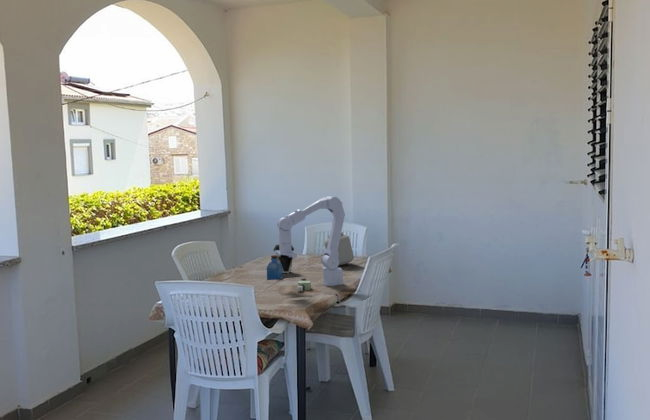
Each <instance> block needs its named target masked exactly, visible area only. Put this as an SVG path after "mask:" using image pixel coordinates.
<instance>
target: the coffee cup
mask: <svg viewBox="0 0 650 420" xmlns="http://www.w3.org/2000/svg"><path fill="white" fill-rule="evenodd" d="M272 250H273V252H274V253H275V251H276V250H279V244H276V245H275V246H274V248H273V249H272ZM291 250H292V252H293V253H294V250H295V248H294V247H293V245H292V244H291ZM280 256H281V255H277V259H278V260H277V262H280V260H279V258H278V257H280ZM280 264H281V262H280ZM281 265H282V264H281ZM292 267H293V260H292V261H291V263H290V267H289V271H286V272H284V271H283V267H282V273H287V274H290V273H289V272H292Z"/></svg>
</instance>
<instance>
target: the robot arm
mask: <svg viewBox="0 0 650 420" xmlns="http://www.w3.org/2000/svg"><path fill="white" fill-rule="evenodd" d="M321 209H322V210H323V209H325V210H328V211H329V212H330V213H331V215H332V216H333V218H332V223H331V227H330V233H329V235H330V236H329V241H328V246H327V249H326V248H325V250H324V253H323V255H322V256H321V258H320V259H321V260H320V262H321V265H322V284H323V286H326V287H327V286H328V287H333V286H340V285H344V273H343V269H342V268H341V267H339V266H340V265H339V260H338V256H339V254H338V246H339V241H340V236H341V232H343V227H344V220H345V216H346V213H345V210H344V207H343V202H342V201H341V199H340V198H338V197H337V196H332V195H326V196H324V197H321V198H320V199H318V200H317V201H315V202H313V203H312V204H310V205H308V206H307V207H305V208H304V209H294V210H293V212H291V213H289V214H285V217H281V218H279V219H278V220H277V228H278V243H279V244H278V245H279V250H276V251H275V252H274V255H281V256H280V257H278V258H279V260H280V262H281V264H282V267H283V271H284V272H286V271H289V267H290V263H291V261H292V262H293V259H296V258H297V257H298V256H297V253H296V252H294V251H293V252H292V250H291V245H292V228H293V227H294V226H296V225H297V224H300V223H301V222H303V221H305V220H306V217H307V216H309V215H311V214H312V213H314V212H316V211H319V210H321Z"/></svg>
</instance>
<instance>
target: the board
mask: <svg viewBox="0 0 650 420" xmlns="http://www.w3.org/2000/svg"><path fill="white" fill-rule="evenodd" d="M306 280H307V278H305V277H302V278H301V279H300V281H306ZM298 286H299V285H298V284H294V285H282V286H274V287H271V288H272V289H273V290H274V291H276V292H277V293H278V294H280V295H281V296H288V295H298V294H307V293H315V292H316V293H317V292H321V290H320V289H319V288H317V287H316V286H314V285H313V284H311V289H310V290H305V288H304V290H303V291H298Z"/></svg>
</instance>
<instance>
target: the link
mask: <svg viewBox="0 0 650 420" xmlns="http://www.w3.org/2000/svg"><path fill="white" fill-rule="evenodd" d="M306 281H308V280H307V279H306ZM304 288H305V285H299V286H298V291H303V290H304Z"/></svg>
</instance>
